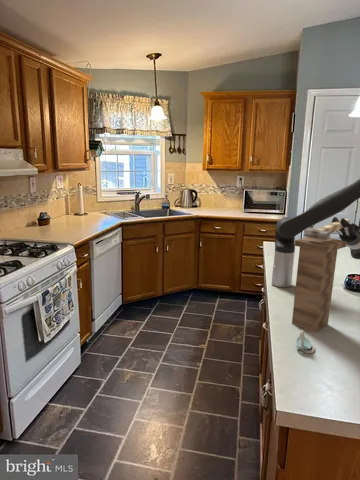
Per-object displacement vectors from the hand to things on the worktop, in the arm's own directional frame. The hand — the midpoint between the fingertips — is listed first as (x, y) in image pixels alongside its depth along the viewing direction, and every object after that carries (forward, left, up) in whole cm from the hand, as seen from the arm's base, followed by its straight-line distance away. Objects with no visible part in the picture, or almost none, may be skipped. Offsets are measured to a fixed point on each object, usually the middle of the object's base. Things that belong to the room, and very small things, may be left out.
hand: (338, 219), depth 129 cm
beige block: (-2, -4, -4) cm, 6 cm away
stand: (-6, -10, -38) cm, 40 cm away
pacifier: (-8, -30, -39) cm, 50 cm away
